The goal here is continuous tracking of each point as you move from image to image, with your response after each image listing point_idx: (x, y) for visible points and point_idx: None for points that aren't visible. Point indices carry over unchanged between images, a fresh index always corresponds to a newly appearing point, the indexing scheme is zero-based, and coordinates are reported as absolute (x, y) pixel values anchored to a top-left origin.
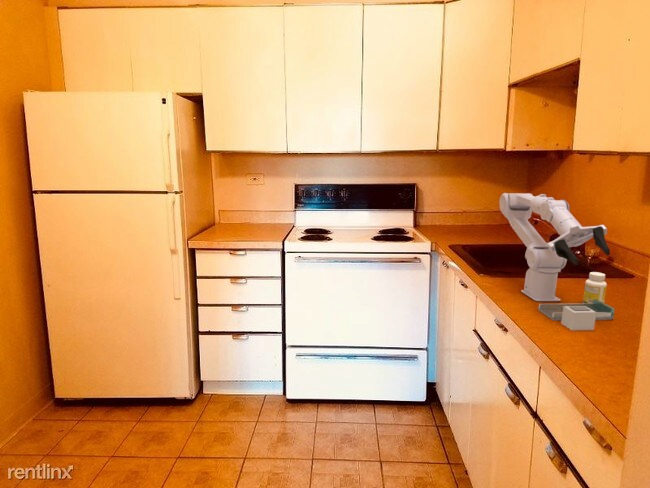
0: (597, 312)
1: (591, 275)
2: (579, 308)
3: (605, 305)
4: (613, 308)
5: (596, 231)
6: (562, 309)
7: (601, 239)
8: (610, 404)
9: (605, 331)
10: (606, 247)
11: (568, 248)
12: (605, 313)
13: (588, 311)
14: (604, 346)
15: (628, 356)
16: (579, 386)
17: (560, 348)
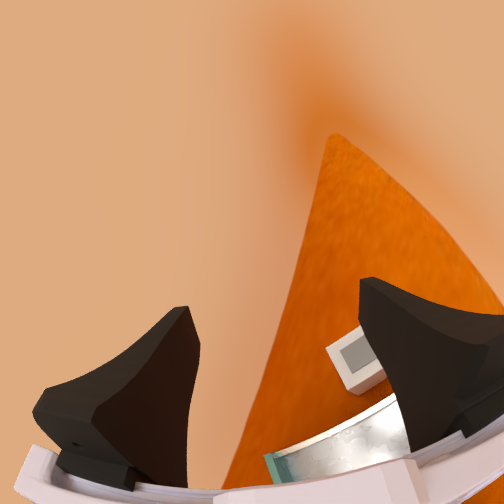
0: (310, 441)
1: None
2: (367, 344)
3: (278, 474)
4: (265, 455)
5: (102, 393)
6: (398, 456)
7: (147, 349)
8: (335, 145)
9: (315, 365)
10: (176, 309)
11: (418, 314)
12: (291, 446)
13: (345, 342)
14: (330, 279)
15: (299, 262)
16: (362, 151)
17: (398, 224)
